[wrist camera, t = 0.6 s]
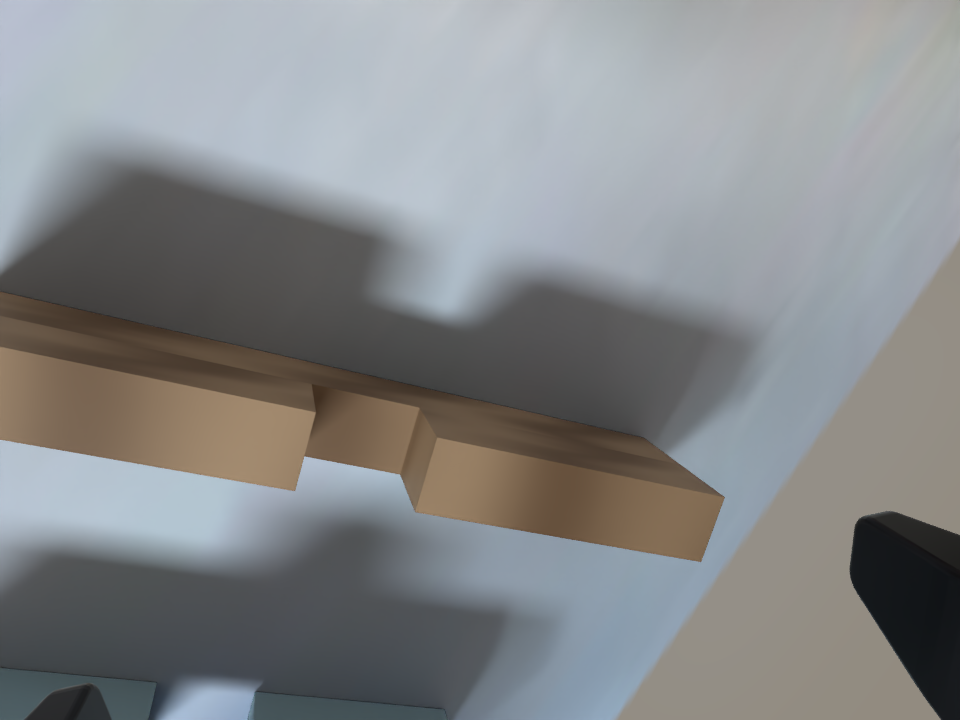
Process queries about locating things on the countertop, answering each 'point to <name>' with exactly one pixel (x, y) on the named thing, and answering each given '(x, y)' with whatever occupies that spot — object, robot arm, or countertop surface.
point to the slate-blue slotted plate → (16, 693)
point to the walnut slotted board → (333, 431)
